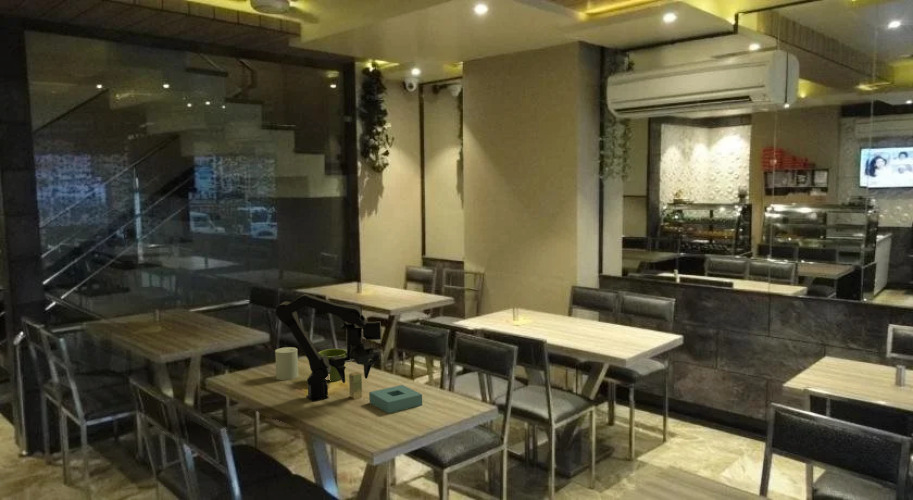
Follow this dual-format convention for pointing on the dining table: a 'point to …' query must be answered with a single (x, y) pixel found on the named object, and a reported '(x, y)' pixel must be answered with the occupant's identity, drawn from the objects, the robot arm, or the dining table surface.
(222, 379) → the dining table surface
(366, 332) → the robot arm
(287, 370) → the can
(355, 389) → the peg
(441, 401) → the dining table surface
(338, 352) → the plant pot
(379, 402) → the socket block
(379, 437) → the dining table surface
